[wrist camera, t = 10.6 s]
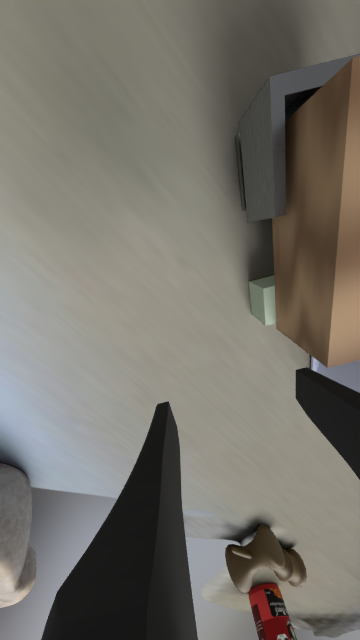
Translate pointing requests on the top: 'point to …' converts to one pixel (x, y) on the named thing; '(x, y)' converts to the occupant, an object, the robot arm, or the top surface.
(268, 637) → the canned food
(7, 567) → the mortar
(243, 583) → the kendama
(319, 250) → the walnut rail
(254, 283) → the block
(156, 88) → the top surface
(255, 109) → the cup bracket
